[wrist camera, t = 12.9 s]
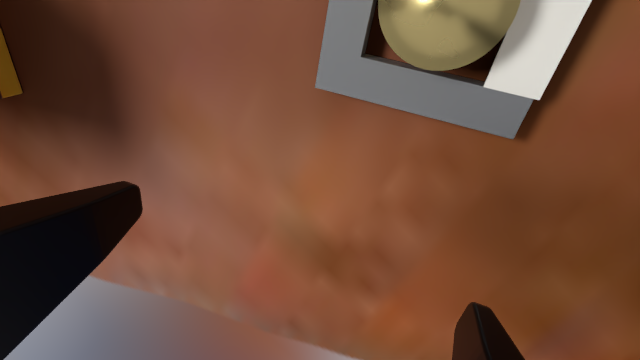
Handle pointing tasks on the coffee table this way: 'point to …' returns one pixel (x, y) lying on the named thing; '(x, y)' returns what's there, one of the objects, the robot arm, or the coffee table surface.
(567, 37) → the grey square tray
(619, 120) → the coffee table surface
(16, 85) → the supplement box
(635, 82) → the coffee table surface
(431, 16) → the brass plunger
